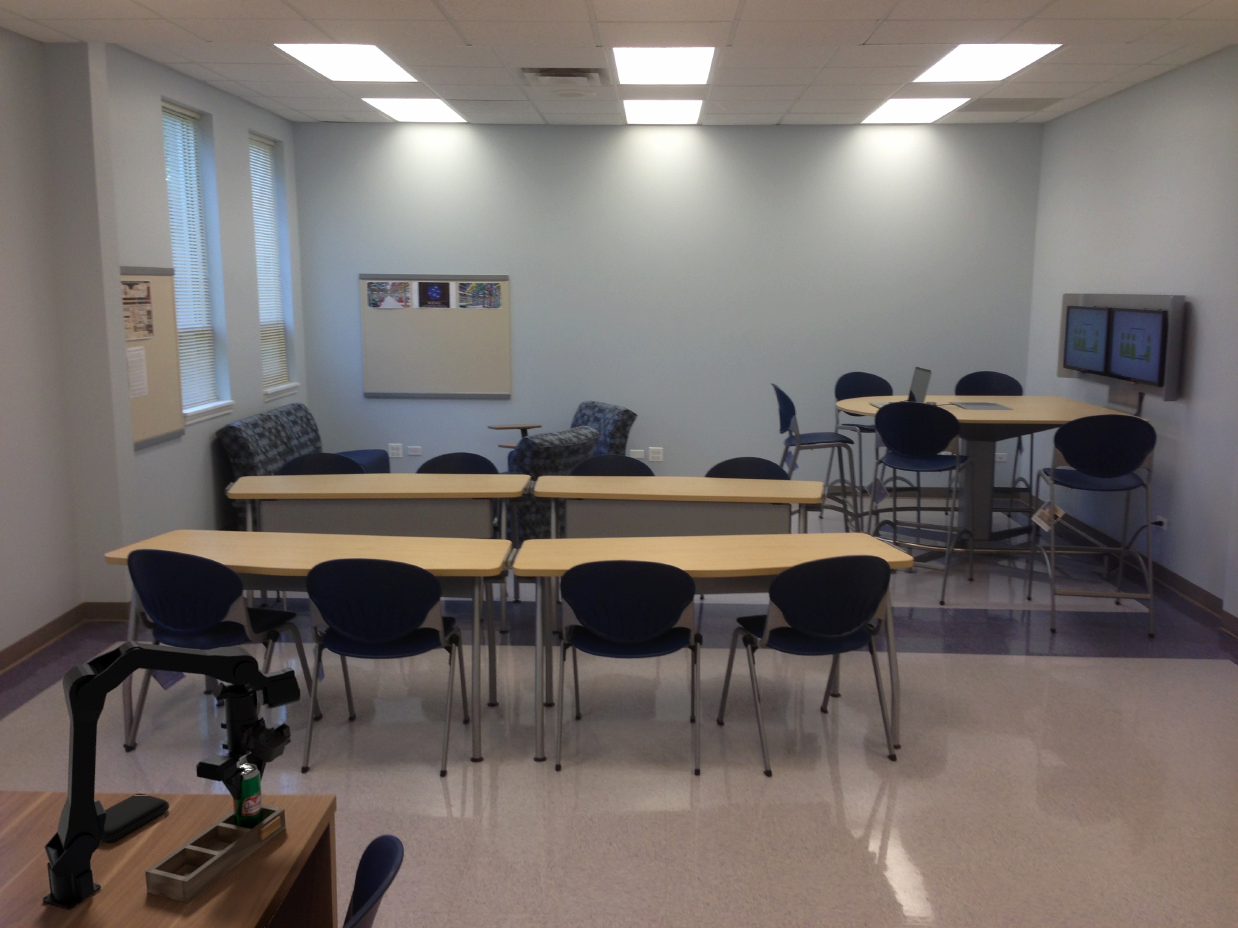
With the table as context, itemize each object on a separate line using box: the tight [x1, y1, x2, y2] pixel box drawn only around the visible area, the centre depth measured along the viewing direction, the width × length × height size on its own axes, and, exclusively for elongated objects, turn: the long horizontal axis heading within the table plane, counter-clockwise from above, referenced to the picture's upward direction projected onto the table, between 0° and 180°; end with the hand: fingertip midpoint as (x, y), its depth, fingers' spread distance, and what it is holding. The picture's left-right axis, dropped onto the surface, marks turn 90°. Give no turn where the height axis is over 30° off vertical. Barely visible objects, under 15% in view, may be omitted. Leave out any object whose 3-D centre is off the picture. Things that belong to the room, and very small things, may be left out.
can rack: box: [144, 803, 287, 904], centre depth 176 cm, size 10×25×4 cm, turn 160°
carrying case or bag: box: [101, 793, 170, 845], centre depth 189 cm, size 11×3×15 cm
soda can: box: [232, 763, 263, 829], centre depth 183 cm, size 5×5×12 cm
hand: (247, 792), depth 182 cm, fingers closed on soda can, 5 cm apart
